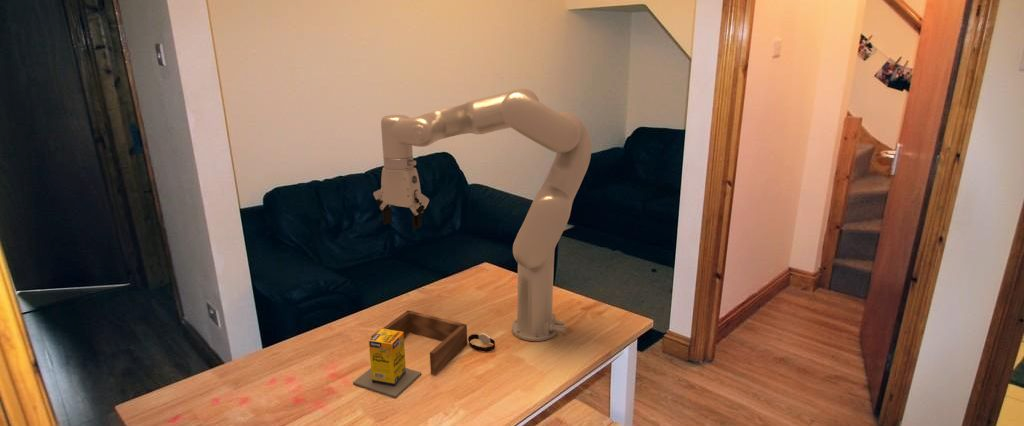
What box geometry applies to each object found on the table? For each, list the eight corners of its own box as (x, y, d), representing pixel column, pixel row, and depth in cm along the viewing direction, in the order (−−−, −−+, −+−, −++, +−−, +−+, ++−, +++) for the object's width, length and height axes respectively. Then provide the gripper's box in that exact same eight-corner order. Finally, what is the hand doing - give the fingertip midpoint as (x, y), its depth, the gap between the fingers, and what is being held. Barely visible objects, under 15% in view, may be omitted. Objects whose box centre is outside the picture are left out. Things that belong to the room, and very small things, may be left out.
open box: (467, 345, 139) (466, 324, 138) (435, 375, 126) (434, 353, 125) (409, 329, 147) (407, 310, 145) (373, 357, 134) (371, 336, 132)
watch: (498, 347, 139) (498, 334, 138) (489, 355, 135) (489, 343, 134) (473, 339, 142) (473, 327, 141) (464, 347, 138) (463, 335, 137)
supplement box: (395, 386, 121) (392, 344, 118) (371, 382, 123) (367, 340, 119) (406, 372, 127) (404, 331, 123) (384, 368, 128) (380, 327, 125)
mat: (421, 374, 127) (421, 372, 127) (395, 398, 118) (395, 396, 118) (380, 362, 132) (380, 360, 131) (353, 384, 123) (352, 382, 123)
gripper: (434, 163, 139) (437, 225, 144) (381, 157, 146) (385, 217, 151) (417, 169, 133) (421, 234, 138) (362, 162, 140) (367, 225, 145)
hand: (402, 225), depth 144 cm, fingers open, 9 cm apart
